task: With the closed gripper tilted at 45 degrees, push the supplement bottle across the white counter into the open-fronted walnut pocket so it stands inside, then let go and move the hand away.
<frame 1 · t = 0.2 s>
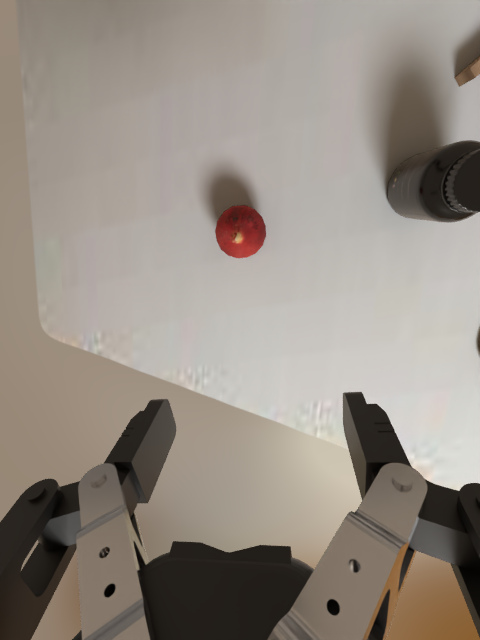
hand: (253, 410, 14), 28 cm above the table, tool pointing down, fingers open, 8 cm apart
supplement bottle: (415, 186, 35), on the table
onion: (243, 229, 38), on the table
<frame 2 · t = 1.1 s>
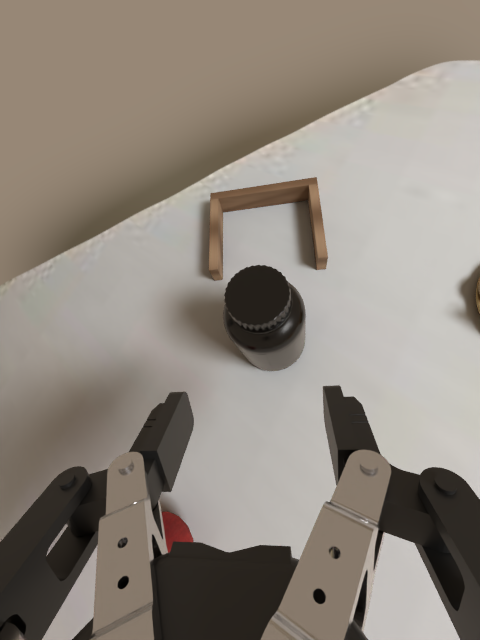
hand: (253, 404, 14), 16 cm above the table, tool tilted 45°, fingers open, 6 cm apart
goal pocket: (266, 238, 37), on the table
supplement bottle: (272, 341, 32), on the table
onion: (175, 538, 27), on the table
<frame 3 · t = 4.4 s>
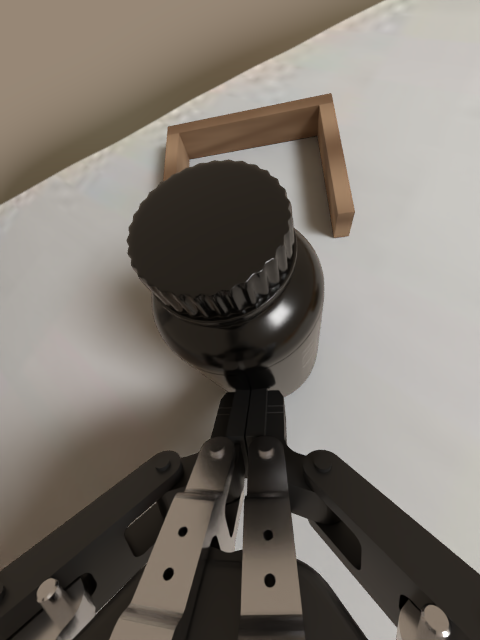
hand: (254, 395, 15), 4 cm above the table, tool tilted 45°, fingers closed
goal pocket: (253, 194, 24), on the table
supplement bottle: (261, 350, 19), on the table, touching gripper
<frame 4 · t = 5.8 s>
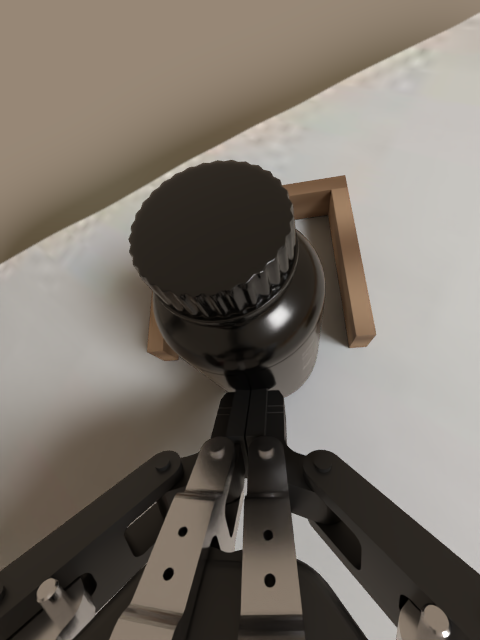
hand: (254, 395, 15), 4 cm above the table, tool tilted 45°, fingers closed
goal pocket: (256, 284, 21), on the table
supplement bottle: (261, 350, 19), on the table, touching gripper
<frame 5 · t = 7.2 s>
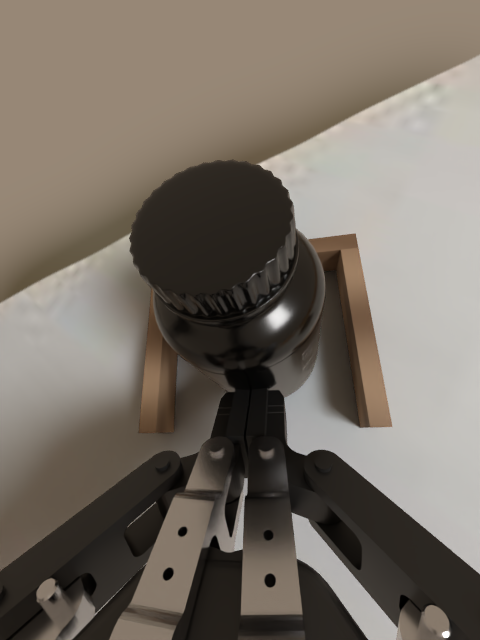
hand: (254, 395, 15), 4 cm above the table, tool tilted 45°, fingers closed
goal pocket: (258, 347, 19), on the table
supplement bottle: (261, 350, 19), on the table, touching gripper
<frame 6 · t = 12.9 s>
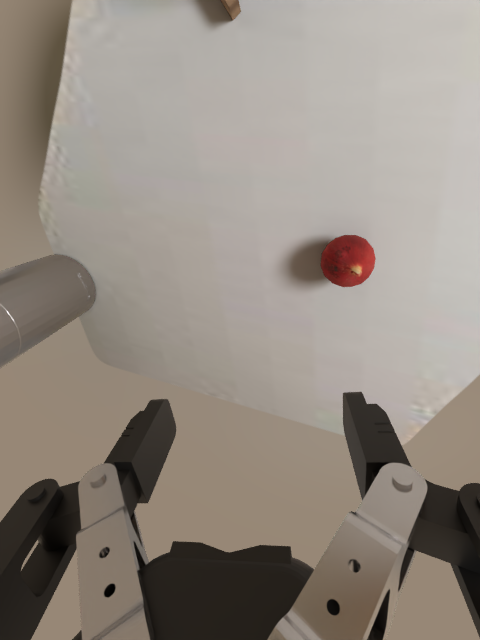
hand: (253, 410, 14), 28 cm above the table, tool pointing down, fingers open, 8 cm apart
onion: (340, 253, 38), on the table
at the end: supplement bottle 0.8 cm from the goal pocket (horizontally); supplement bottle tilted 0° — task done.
